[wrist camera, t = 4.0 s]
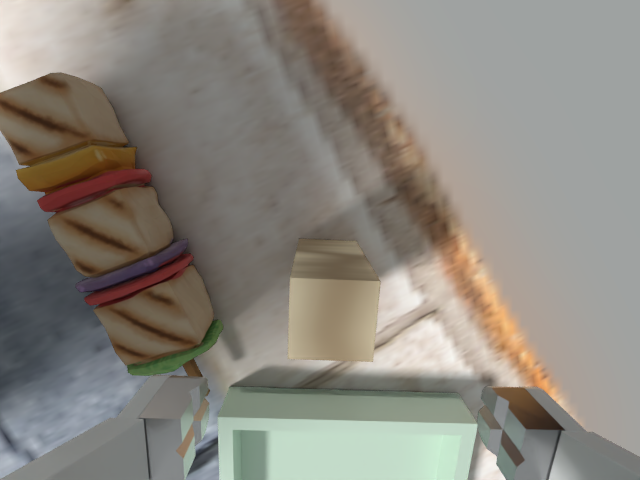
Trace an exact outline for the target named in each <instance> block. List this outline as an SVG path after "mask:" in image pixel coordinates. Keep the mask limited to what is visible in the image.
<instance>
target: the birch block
mask: <svg viewBox="0 0 640 480" xmlns="http://www.w3.org/2000/svg"><path fill="white" fill-rule="evenodd" d="M380 282H381V281H380V280H379V278H378V276H377V275H376V273H375V271H374V270H373V268H372V266H371V265H370V263H369V261H368V260H367V258H366V256H365V255H364V253H363V251H362V250H361V248H360V246H359V245H358V243H357V241H344V240H321V239H299V241H298V245H297V249H296V254H295V258H294V262H293V266H292V270H291V275H290V287H289V324H288V359H303V360H334V361H366V362H373V355H374V344H375V334H376V324H377V313H378V303H379V293H380Z"/></svg>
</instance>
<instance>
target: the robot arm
mask: <svg viewBox="0 0 640 480" xmlns="http://www.w3.org/2000/svg"><path fill="white" fill-rule="evenodd" d="M208 390H209V389H208V379H207V378H206V377H195V376H177V375H172V376H170V375H153V376H150V377H149V378H148V380H147V381H146V382H145V383H144V384H143V386H142V387H141V388H140V389H139V391H138V392H137V393H136V394H135V395H134V397H133V398H132V399H131V400H130V401H129V403H128V404H127V405H126V406H125V408H124V409H123V410H122V411H121V412H120V414H119V415H118V416H117V417H116V418H109V419H107V420H105V421H104V422H102V423H100V424H98V425H96V426H95V427H93V428H91V429H89V430H88V431H86V432H84V433H82V434H80V435H79V436H77V437H75V438H73V439H71V440H70V441H68V442H66V443H64V444H62V445H61V446H59V447H57V448H55V449H53V450H52V451H50V452H48V453H46V454H44V455H43V456H41V457H39V458H37V459H35V460H34V461H32V462H30V463H28V464H27V465H25V466H23V467H21V468H19V469H18V470H16V471H14V472H12V473H10V474H9V475H7V476H5V477H3V478H1V479H0V480H185V478H186V476H187V474H188V471H189V469H190V467H191V465H192V462H193V460H194V458H195V446H196V445H197V444H198V443H200V442H201V441H202V439H203V436H204V434H205V431H206V427H207V423H208V419H209V402H208V401H207V400H206V399H205V396H206V394H207V392H208ZM481 399H482V401H483V402H484V404H485V405H484V406H483V407H482V408H481V409H480V410H479V412H478V419H477V424H478V430H479V434H480V437H481V439H482V441H483V443H484V445H485V446H486V448H487V449H488V450H489V451H491V452H492V453H493V454H495V455H496V456H497V463H496V464H497V466H498V467H499V469H500V470H501V472H502V474H503V475H504V477H505V478H506V480H640V457H639V456H637V455H635V454H633V453H631V452H629V451H627V450H626V449H624V448H622V447H620V446H618V445H616V444H615V443H613V442H611V441H609V440H607V439H605V438H603V437H601V436H599V435H598V434H596V433H594V432H587V431H586V430H585V429H584V428H583V427H582V426H581V425H579V424H578V423H577V422H576V421H575V420H574V419H573V418H572V417H571V416H570V415H569V414H568V413H567V412H566V411H565V410H564V409H563V408H562V407H560V406H559V405H558V404H557V403H556V402H555V401H554V400H553V399H552V398H551V397H550V396H549V395H548V394H547V393H546V392H545V391H544V390H542V389H540V388H538V387H488V386H486V387H485V388H484V390H483V391H482V396H481Z"/></svg>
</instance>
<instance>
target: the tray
mask: <svg viewBox="0 0 640 480" xmlns="http://www.w3.org/2000/svg"><path fill="white" fill-rule="evenodd" d="M477 427H478V424H477V422H476V420H475V418H474V417H473V415H472V414H471V412H470V411H469V409H468V408H467V406H466V405H465V403H464V402H463V400H462V398H461V397H460V395H459V394H458V393H436V392H402V391H367V390H333V389H298V388H264V387H229V390H228V392H227V395H226V397H225V400H224V402H223V405H222V407H221V410H220V412H219V415H218V443H219V475H220V480H467V479H468V474H469V469H470V463H471V458H472V453H473V448H474V443H475V437H476V432H477Z"/></svg>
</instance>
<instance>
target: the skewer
mask: <svg viewBox="0 0 640 480" xmlns="http://www.w3.org/2000/svg"><path fill="white" fill-rule="evenodd" d="M0 131H1V132H2V134H3V135H4V137H5V138H6V140H7V142H8V143H9V145H10V146H11V148H12V150H13V152H14V154H15V156H16V159H17V161H18V163H19V165H26V166H30V167H26V168H22V169H18V170H16V172H17V176H18V179H19V180H20V181H21V182H22V183H23V184H24V185H25V187H26V188H27V189H28V190H29V191H39V192H45V194H46V195H45V196H43V197H42V198H40V199H39V200H37V202H38V204H39V206H40V208H41V209H42V210H44V211H45V212H56V214H54V215H53V216H52V217H51V218H49V219H48V223H49V226H50V229H51V231H52V233H53V235H54V237H55V239H56V241H57V242H58V243H59V244H60V246H61V247H62V248H63V250H64V251H65V252H66V254H67V255H68V257H69V258H70V260H71V261H72V263H73V265H74V267H75V269H76V270H77V271H78V272H80V273H81V274H82V275H84V276H86V277H90V278H87V279H84V280H82V281H80V282H78V283H77V284H76V285H75V287H76V289H77V290H78V291H79V292H92V291H95V292H93V293H92V294H90V295H88V296H87V297H85V298H84V300H85V302H86V303H88V304H89V305H90V306H91V305H97V304H99V305H98V306H97V307H96V308H95V309H94V310H93V311H94V312H95V314H96V315H97V317H98V318H99V320H100V321H101V323H102V324H103V326H104V327H105V329H106V331H107V333H108V336H109V338H110V341H111V343H112V345H113V348H114V350H115V352H116V354H117V355H118V356H119V358H120V359H121V360H122V361H123V363H124V364H125V365H127V368H128V373H130V374H131V375H143V376H149V375H156V374H163V373H168V372H172V371H175V370H176V369H178V368H179V367H181V366H182V365H183V367H184V369H185V371H186V373H187V374H188V376H195V377H203V376H202V374H201V372H200V370H199V368H198V366H197V364H196V362H195V360H194V357H196V356H198V355H200V354H202V353H204V352H205V351H207V350H209V349H210V348H211V347H212V346H213V345H214V344H215V343H216V341H217V339H218V337H219V334H220V333H221V331H222V330H223V324H222V322H221V320H215V321H212V320H213V318H214V312H213V308H212V305H211V302H210V298H209V295H208V293H207V290H206V287H205V285H204V282H203V280H202V278H201V277H200V275H199V273H198V272H197V270H196V268H195V267H194V265H189V266H188V264H189V263H190V262H191V261H193V256H192V255H191V253H190V254H182V253H183V252H184V251H185V249H186V247H187V245H188V240H187V239H183V240H180V241H178V242H175V243H173V244H171V243H172V240H173V238H174V237H173V229H172V226H171V223H170V220H169V218H168V216H167V215H166V213H165V212H164V211H163V209H162V208H161V207H160V206H159V204H158V197H157V193H156V191H155V189H154V187H150V186H144V184H145V183H147V182H150V181H151V174H150V172H149V171H148V170H146V169H135V153H136V149H137V147H124V148H123V146H125V145H127V144H128V143H129V142H128V140H127V138H126V136H125V134H124V133H123V131H122V129H121V127H120V125H119V122H118V120H117V117H116V115H115V112H114V110H113V108H112V106H111V104H110V102H109V101H108V99H107V97H106V95H105V94H104V92H103V90H102V88H100V87H98V86H96V85H95V84H93V83H90V82H88V81H85V80H83V79H80V78H78V77H75V76H71V75H68V74H64V73H50V74H48V75H45V76H43V77H40V78H38V79H35V80H33V81H30V82H28V83H25V84H22V85H20V86H17V87H14V88H12V89H9V90H6V91H4V92H1V93H0ZM208 389H209V388H208ZM209 392H210V390H208V392H207V394H206V396H207V395H208V394H209Z"/></svg>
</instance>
